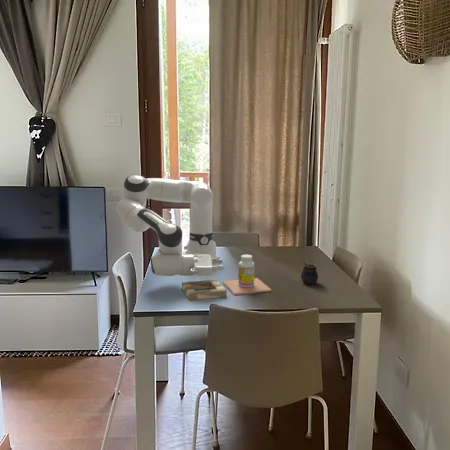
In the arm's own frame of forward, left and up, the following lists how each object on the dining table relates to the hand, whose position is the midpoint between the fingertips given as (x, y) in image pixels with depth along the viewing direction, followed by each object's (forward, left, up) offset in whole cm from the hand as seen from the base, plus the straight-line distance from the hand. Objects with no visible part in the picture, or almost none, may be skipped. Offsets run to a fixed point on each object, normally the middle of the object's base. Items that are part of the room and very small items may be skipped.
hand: (223, 264), depth 197 cm
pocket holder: (+3, -9, -10) cm, 14 cm away
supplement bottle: (+2, +10, -10) cm, 14 cm away
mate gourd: (+5, +38, -10) cm, 39 cm away
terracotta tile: (+2, +10, -10) cm, 14 cm away
